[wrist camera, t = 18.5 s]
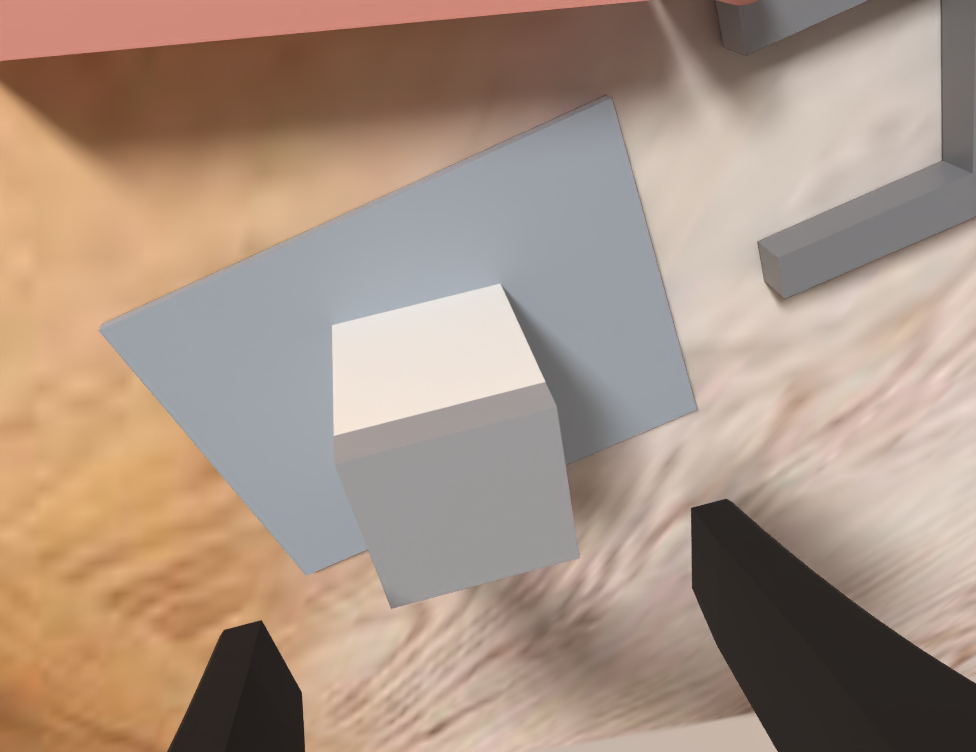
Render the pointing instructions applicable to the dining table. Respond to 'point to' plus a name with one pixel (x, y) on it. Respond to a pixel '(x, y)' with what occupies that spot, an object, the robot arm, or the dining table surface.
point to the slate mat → (409, 281)
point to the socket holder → (892, 208)
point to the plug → (449, 446)
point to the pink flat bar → (221, 20)
